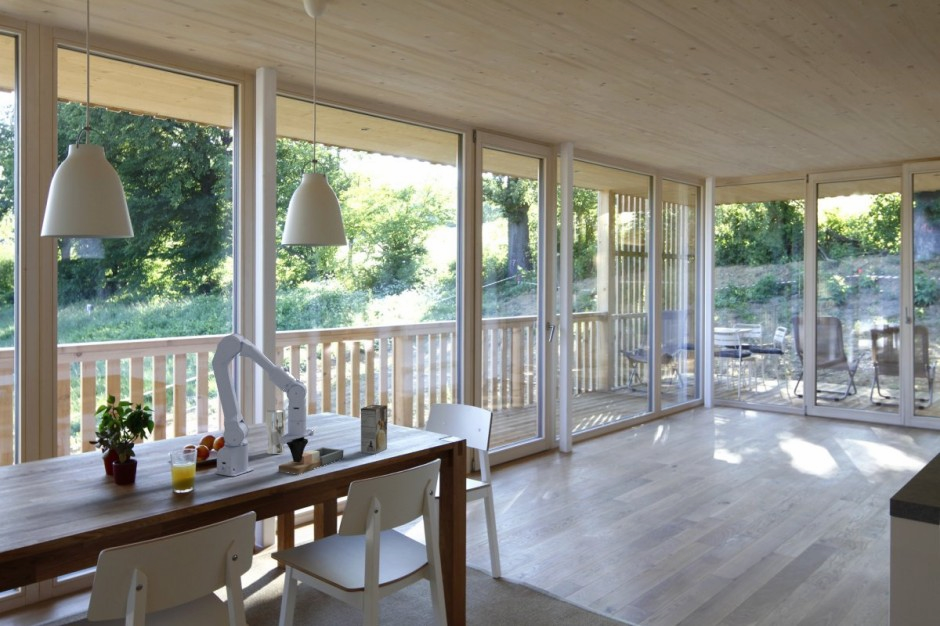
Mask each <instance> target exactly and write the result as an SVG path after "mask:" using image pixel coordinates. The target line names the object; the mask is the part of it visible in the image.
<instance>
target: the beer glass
mask: <svg viewBox="0 0 940 626" xmlns="http://www.w3.org/2000/svg"><path fill="white" fill-rule="evenodd" d="M265 413H266V414H265V431H266V437H267V449H266V454H267V453H268V455H271V454H278V455H282V454H281V453H283V454H284V453H285V444H281V443H280V437H283V436H284V435H286V428H287V420H286V419H287V418H286V410H285V409H280V408H279V409H267V410H266V411H265Z"/></svg>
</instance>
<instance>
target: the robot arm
mask: <svg viewBox="0 0 940 626" xmlns="http://www.w3.org/2000/svg"><path fill="white" fill-rule="evenodd" d="M237 355H238V356H239V357H243V358H244V357H245V358H249V359H251V360H252V361H253V362H254V363H256V364H257V366H259V367H260V368H261V369H263V370H264V371H265V372H266V373H268V379H269V381H271V382H272V383H273V384H274V385H275V386H276V387H277V388H278V389H280V391H282V392H283V393H285V394H286V398H287V400H288V407H287V433H285V434H284V436H283V437H280V443H281V444H284V445H287V446H288V447H287V448H288V449H289V451H290V454H291V458H292V461H294V462H301V459H302V455H303V452H305V448H306V446H307V445H308V442H309V438H307V437H312V436H314V429H309V428H308V429H307V405H306V403H307V401H306V396H307V393H308V389H307V386H306V385H305V383H304V382H303V381H300V379H299V378H298V377H295V376H293V375H292V373H291V372H289V368H288V367H286V366H285V367H283V365H276V364H274V363H273V362H272V361H271V360H270V359H269V358H268V357H267V356H266V355H265V354H264V353H263V352H262V351H261V350H260V349H259V348H258V347H257V346H256V345H255V344H254V343H253V342H251V340H249V339H247V338H245V337H244V335H243V334H241V333H237V332H236V333H231V334H229V335H226V336H224V337H223V338H222V339H221V340H220V341H219V342H218V343H217V347H216V350H215V352H214V356H213V358H212V360H211V367H212V371H213V374H214V379H215V383H216V388H217V391H218V396H219V400H220V405H221V409H222V413H223V416H224V417H223V428H224V432H223V441H224V445H223V446H222V447H221V448H219V449H218V451H217V453H216V471H215V472H214V474H216V475H222V476H229V477H237V476H240V475H243V474H246V473H249V472H251V471H255V468H254V467H249V441H248V440H247V436H248V435H249V432H250V428H249V426H248V424H247V422H245V420H244V417H243V415H242V413H241V410H240V405H239V402H238V398H237V397H238V396H237V393H236V389H235V385H234V384H235V383H234V381H233V376H232V372H231V368H230V364H231V363H232V361H233V360H234V359H235V357H236V356H237Z"/></svg>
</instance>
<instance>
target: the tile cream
mask: <svg viewBox="0 0 940 626" xmlns="http://www.w3.org/2000/svg"><path fill="white" fill-rule="evenodd" d="M303 453H309V454H312V461H315V460H317V459H319V451H313V450H312V449H309V450H306V451H305V450H304V451H303Z"/></svg>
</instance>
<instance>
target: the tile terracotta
mask: <svg viewBox="0 0 940 626" xmlns="http://www.w3.org/2000/svg"><path fill="white" fill-rule="evenodd" d="M309 462H312V454H309V453H303V455H302V459H301V462H294V463H300V464H306V463H309Z"/></svg>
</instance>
